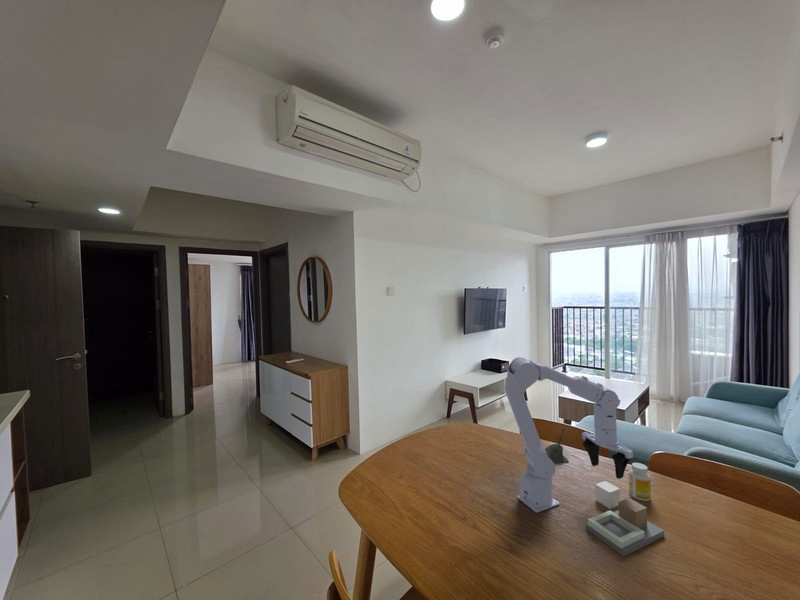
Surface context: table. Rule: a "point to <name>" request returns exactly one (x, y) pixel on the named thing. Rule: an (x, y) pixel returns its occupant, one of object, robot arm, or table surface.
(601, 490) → the block
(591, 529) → the base plate
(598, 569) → the table surface
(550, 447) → the sword in stone
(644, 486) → the supplement bottle
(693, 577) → the table surface
